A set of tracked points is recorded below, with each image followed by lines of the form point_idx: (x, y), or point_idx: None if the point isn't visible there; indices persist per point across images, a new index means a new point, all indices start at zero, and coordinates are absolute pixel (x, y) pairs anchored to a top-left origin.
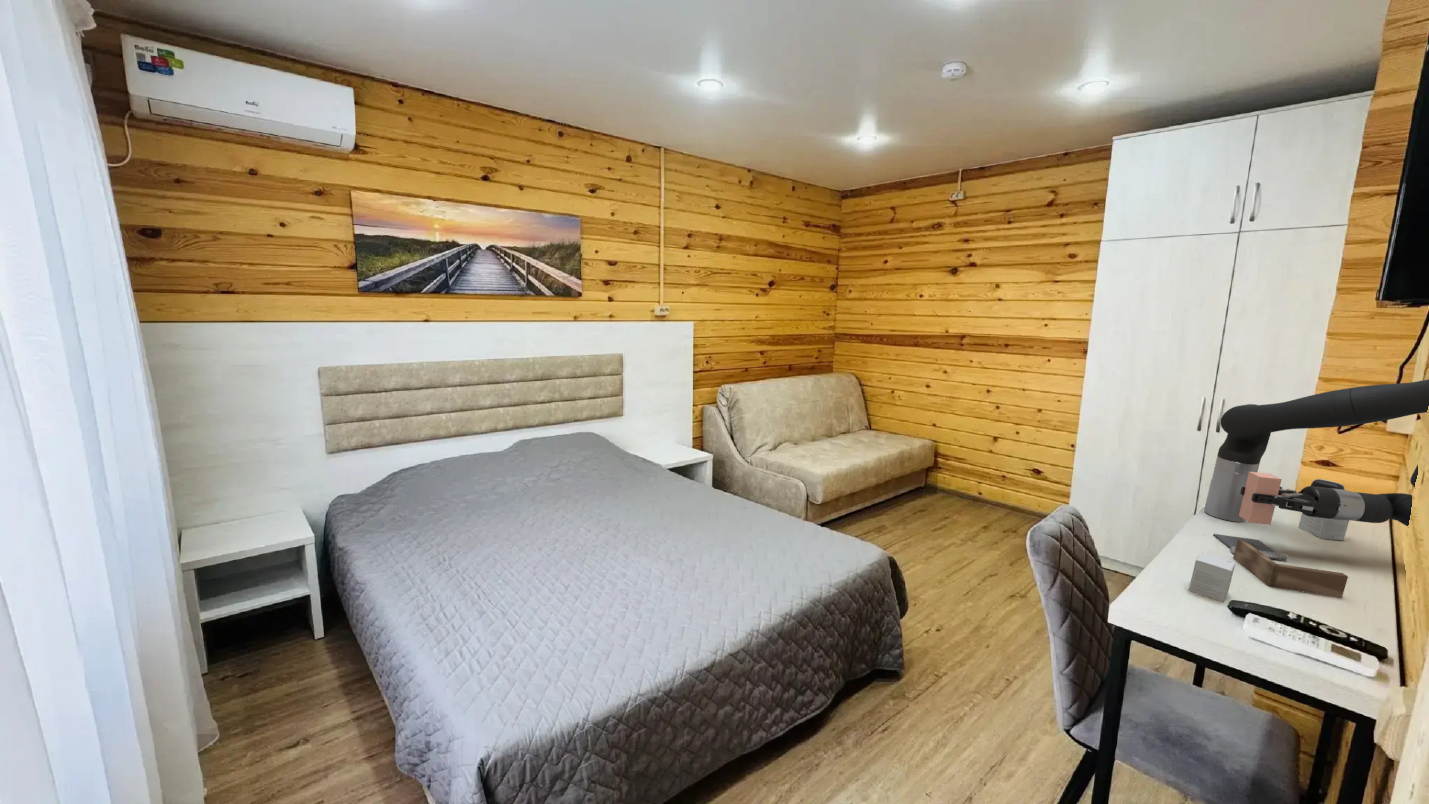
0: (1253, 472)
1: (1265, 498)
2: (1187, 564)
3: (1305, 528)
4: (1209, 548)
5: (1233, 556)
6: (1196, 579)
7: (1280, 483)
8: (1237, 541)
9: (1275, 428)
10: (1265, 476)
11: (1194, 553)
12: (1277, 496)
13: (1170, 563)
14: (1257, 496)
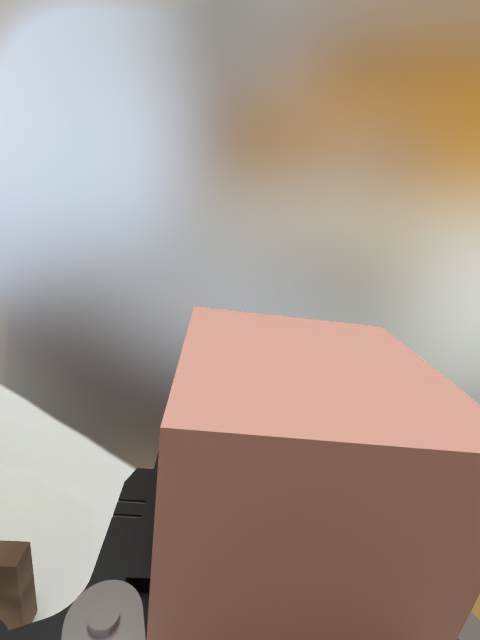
0: (377, 336)
1: (112, 523)
2: (10, 438)
3: None
4: None
5: (36, 605)
6: None
7: (157, 507)
8: (29, 550)
9: None
10: (245, 339)
11: (84, 487)
12: (81, 619)
13: (22, 411)
14: (146, 473)
